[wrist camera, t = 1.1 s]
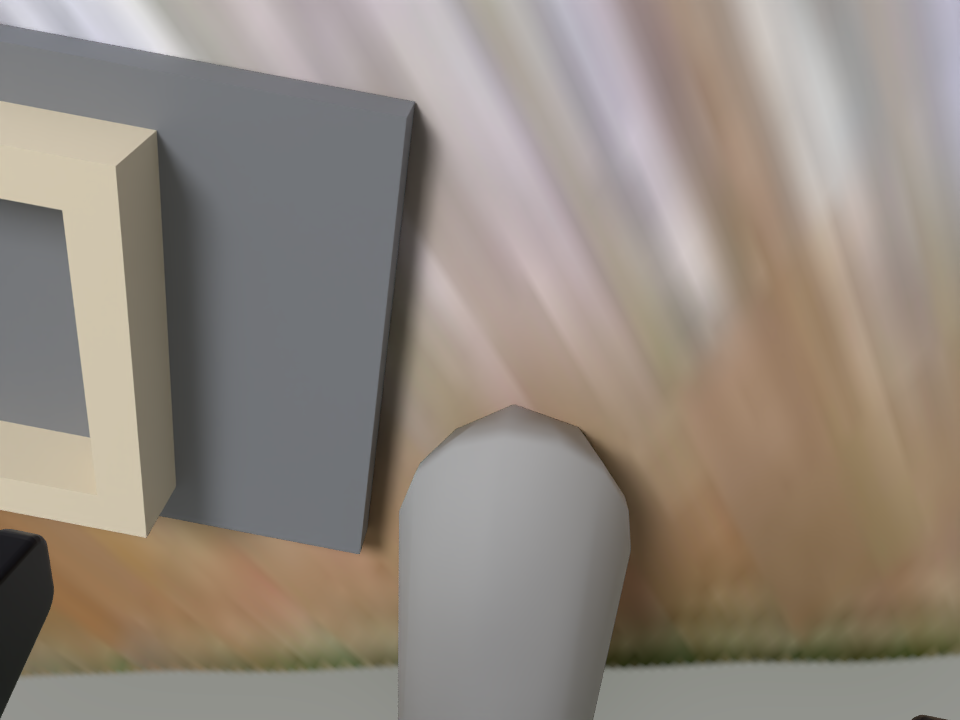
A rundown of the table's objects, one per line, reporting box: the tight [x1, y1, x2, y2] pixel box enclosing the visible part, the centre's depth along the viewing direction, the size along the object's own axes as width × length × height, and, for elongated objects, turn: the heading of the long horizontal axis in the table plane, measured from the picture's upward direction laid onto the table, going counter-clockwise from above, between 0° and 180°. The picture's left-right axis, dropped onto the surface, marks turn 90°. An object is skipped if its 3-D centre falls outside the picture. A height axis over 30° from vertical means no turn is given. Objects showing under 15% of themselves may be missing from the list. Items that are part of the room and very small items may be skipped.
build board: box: [0, 24, 415, 554], centre depth 22 cm, size 16×13×3 cm
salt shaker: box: [398, 405, 631, 720], centre depth 20 cm, size 6×6×13 cm
